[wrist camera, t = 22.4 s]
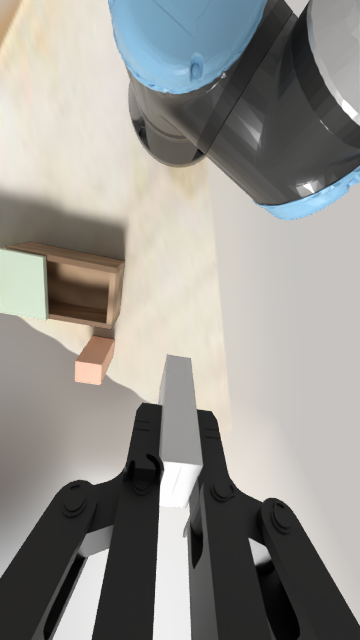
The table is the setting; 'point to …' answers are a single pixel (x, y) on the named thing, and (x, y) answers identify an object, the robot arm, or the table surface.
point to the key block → (94, 360)
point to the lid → (23, 284)
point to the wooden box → (80, 285)
